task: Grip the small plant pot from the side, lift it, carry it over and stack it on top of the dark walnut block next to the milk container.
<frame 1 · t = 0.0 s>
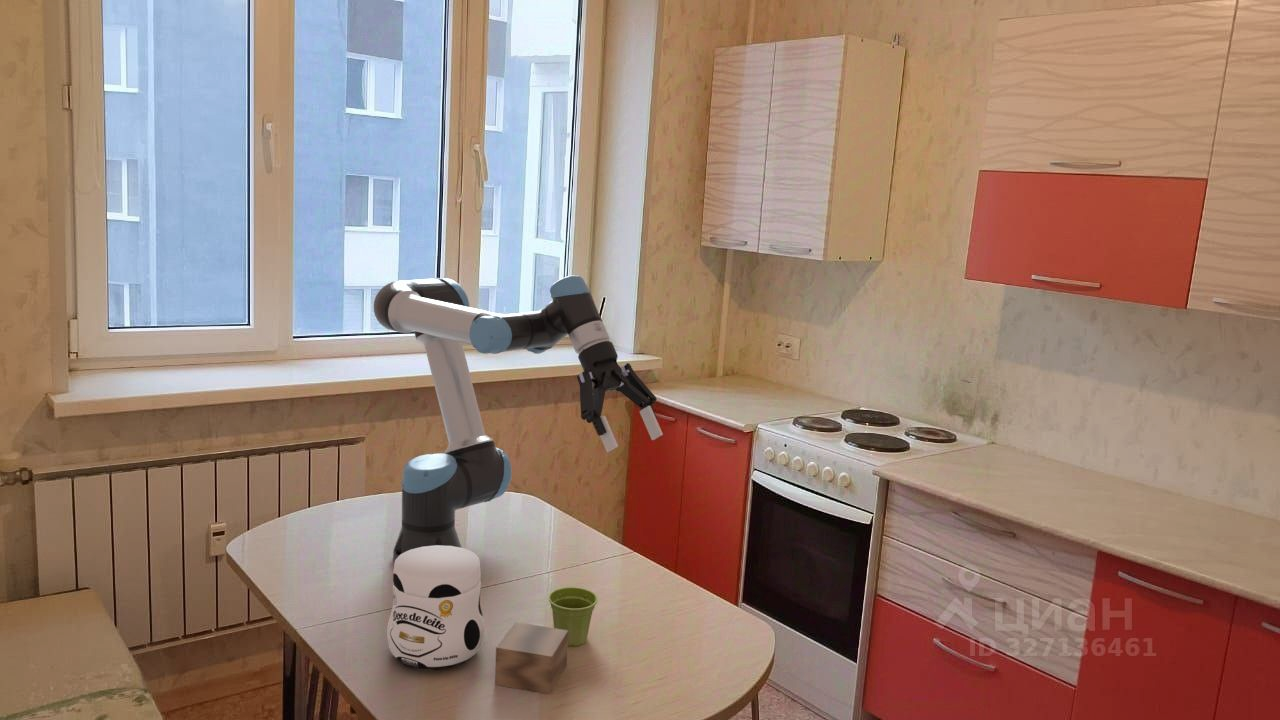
hand: (635, 443, 192), 36 cm above the table, tool tilted 35°, fingers open, 13 cm apart
walnut block: (531, 675, 172), on the table
milk container: (435, 654, 177), on the table
plant pot: (571, 640, 186), on the table
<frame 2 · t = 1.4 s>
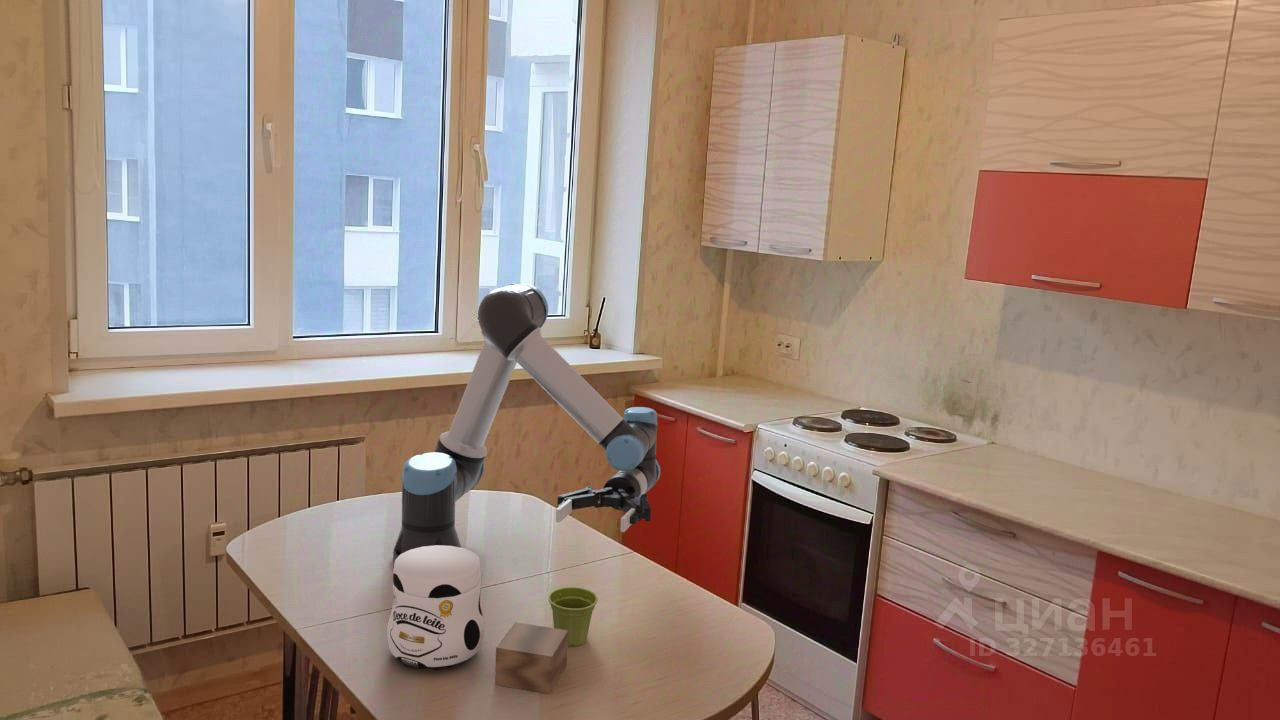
hand: (589, 520, 190), 21 cm above the table, tool horizontal, fingers open, 13 cm apart
nothing on the table moved.
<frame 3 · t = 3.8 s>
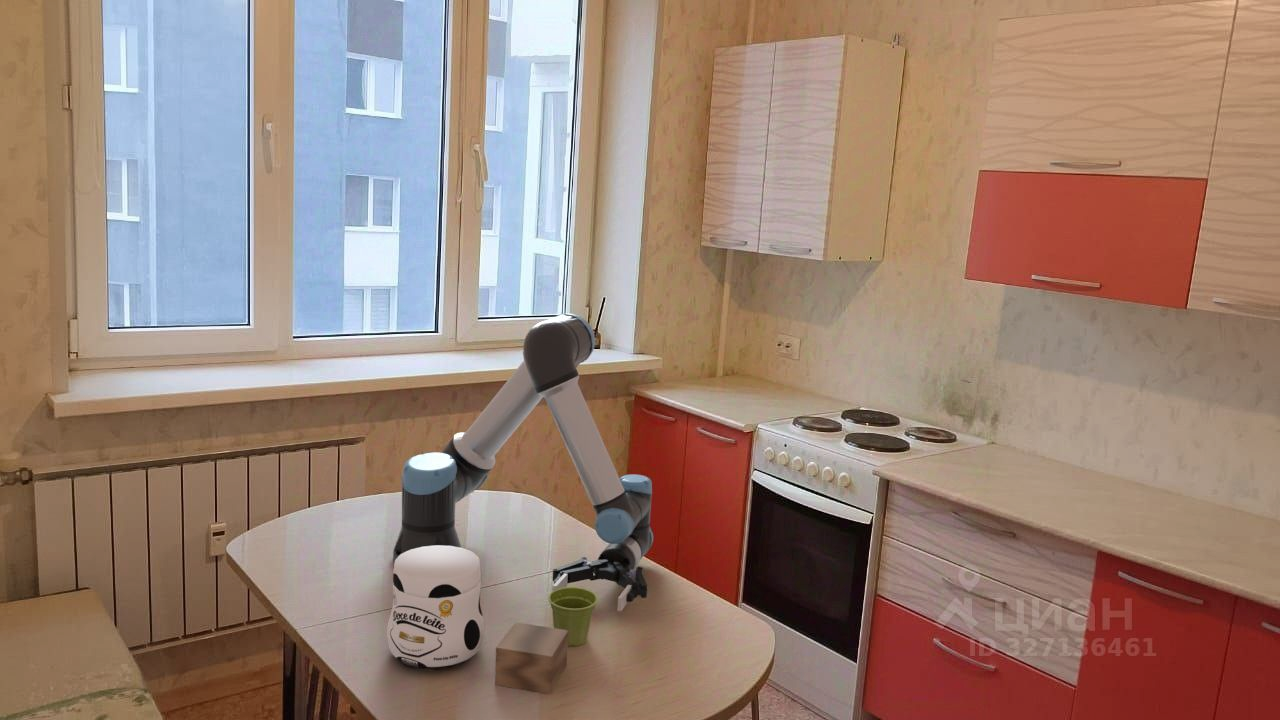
hand: (586, 598, 190), 6 cm above the table, tool horizontal, fingers open, 13 cm apart
nothing on the table moved.
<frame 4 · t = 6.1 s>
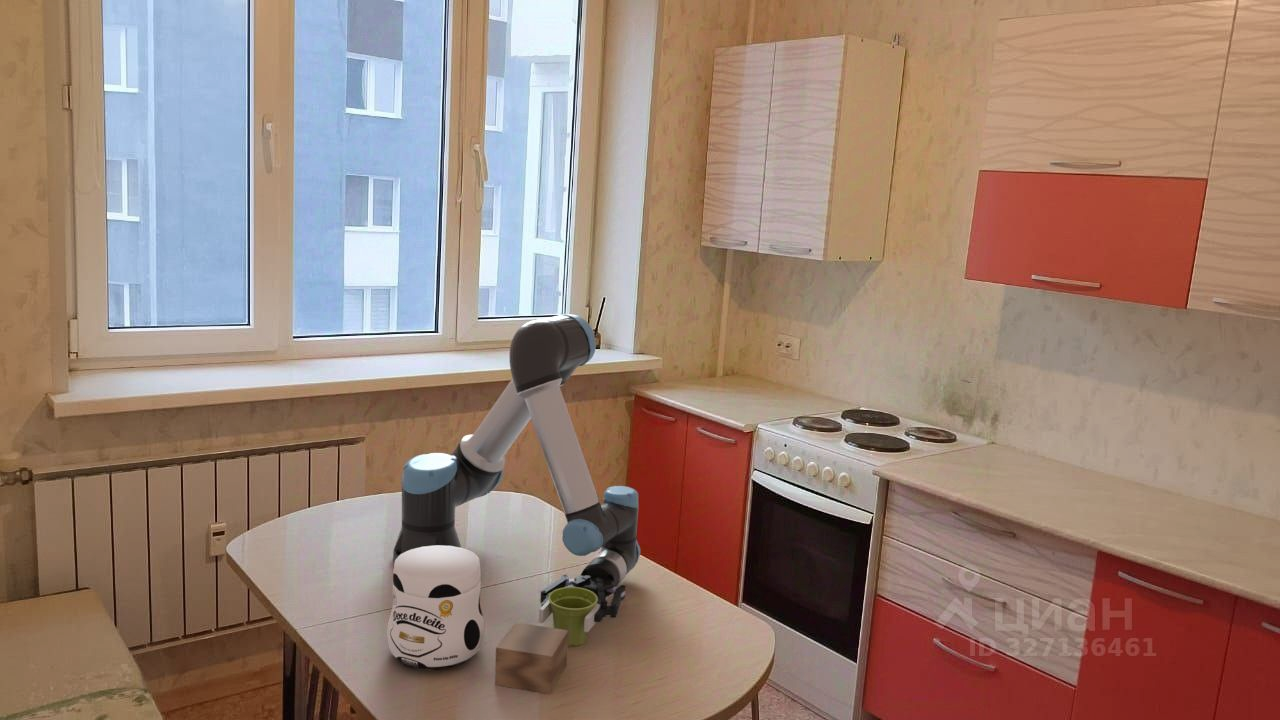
hand: (563, 620, 180), 6 cm above the table, tool horizontal, fingers closed on plant pot, 8 cm apart
plant pot: (571, 640, 186), on the table, touching gripper
everything else where it was.
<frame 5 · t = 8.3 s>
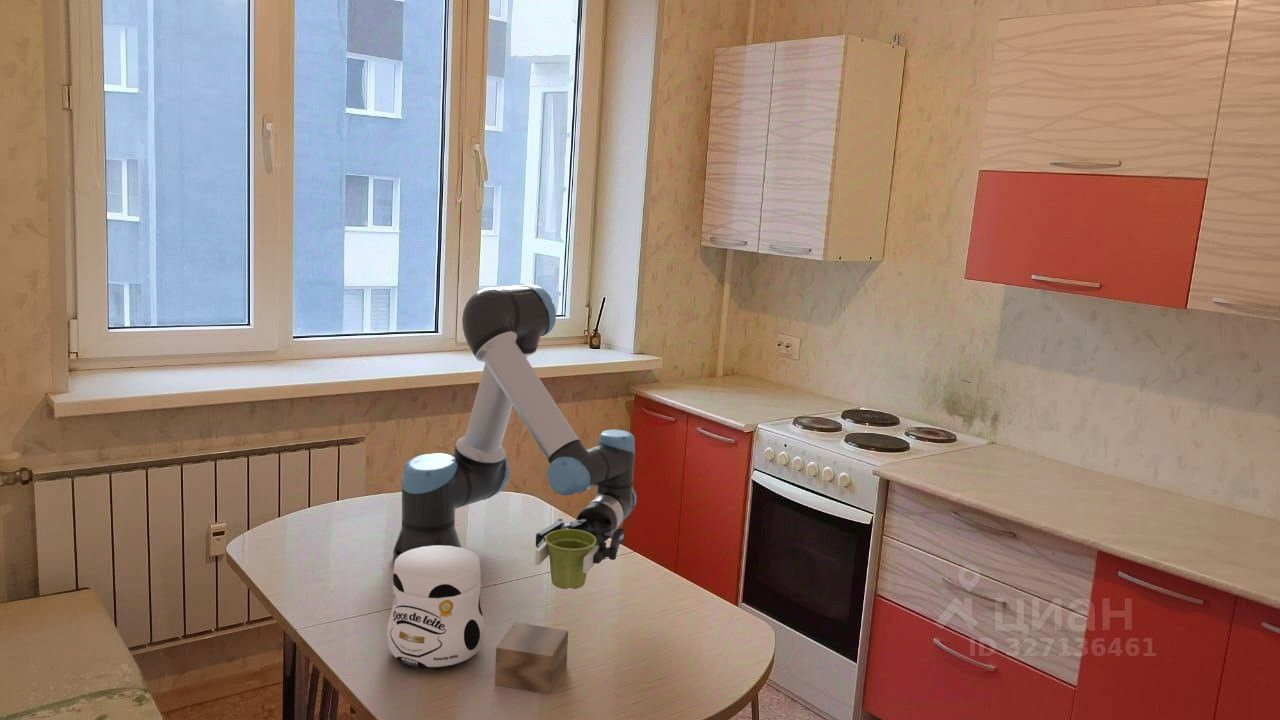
hand: (561, 561, 172), 20 cm above the table, tool horizontal, fingers closed on plant pot, 8 cm apart
plant pot: (568, 584, 178), point 14 cm above the table, touching gripper
everything else where it was.
when the fingers open (14 cm above the table, at t = 10.6 s): plant pot drops 1 cm, resting on walnut block.
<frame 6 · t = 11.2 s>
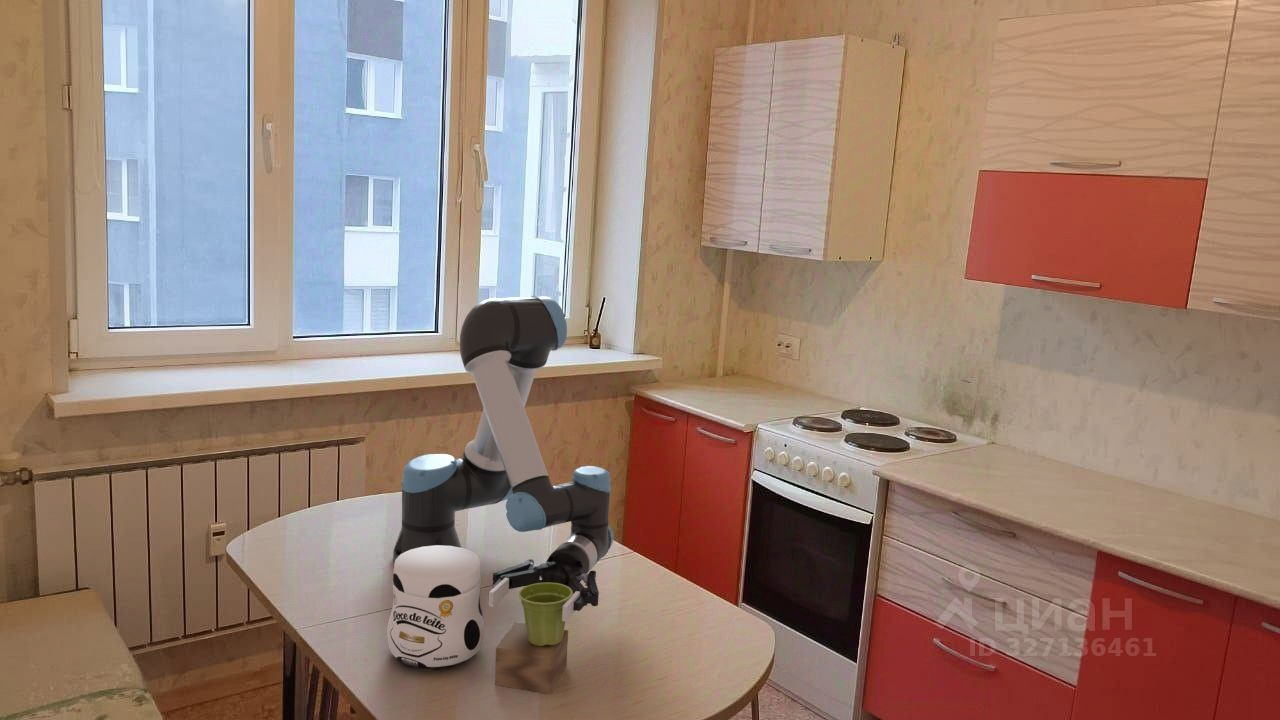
hand: (527, 606, 166), 15 cm above the table, tool horizontal, fingers open, 13 cm apart
plant pot: (545, 640, 170), point 7 cm above the table, touching gripper, walnut block
everything else where it was.
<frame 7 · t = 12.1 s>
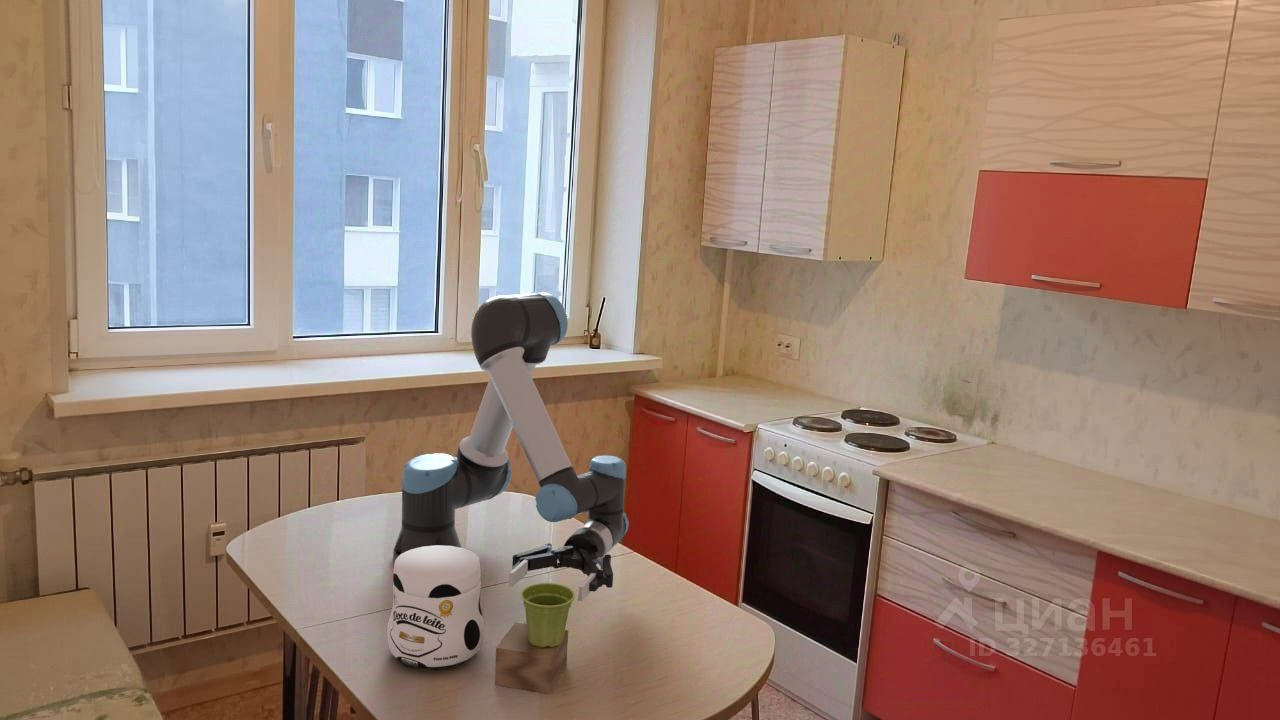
hand: (544, 586, 174), 14 cm above the table, tool horizontal, fingers open, 13 cm apart
plant pot: (546, 641, 170), point 7 cm above the table, touching walnut block
everything else where it was.
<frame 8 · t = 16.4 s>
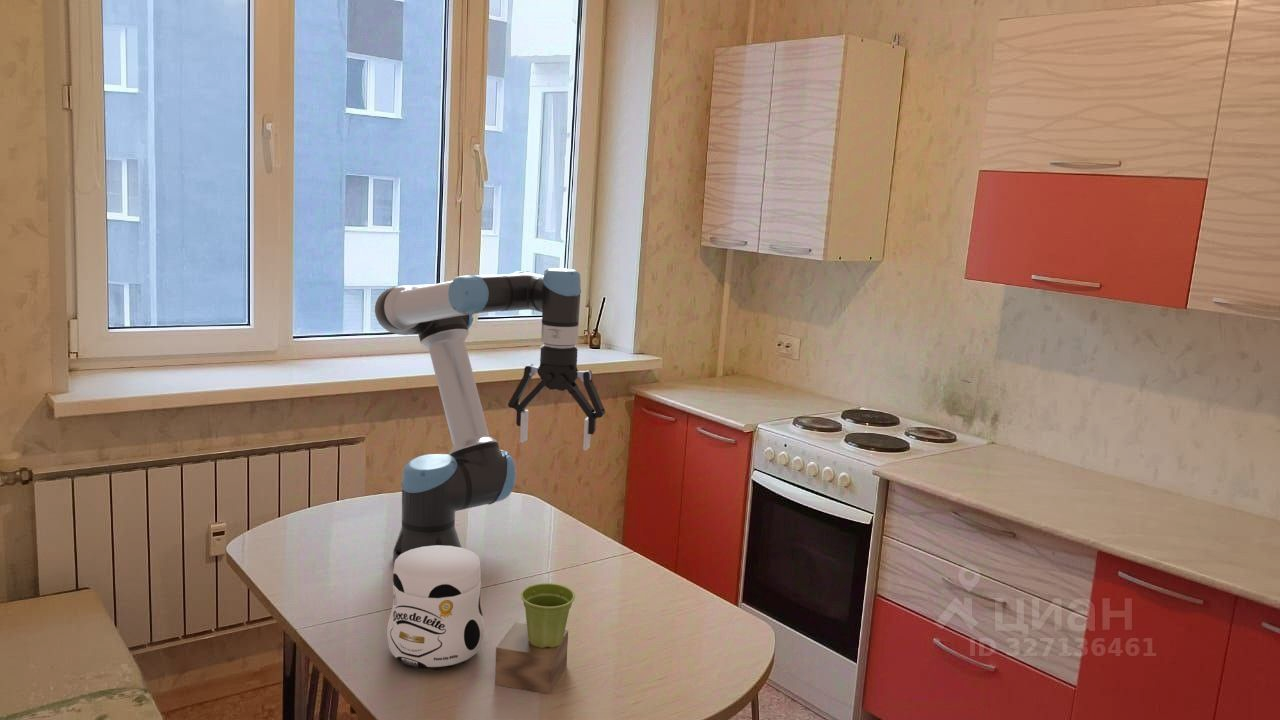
hand: (554, 445, 202), 32 cm above the table, tool pointing down, fingers open, 13 cm apart
nothing on the table moved.
at the end: plant pot inside the target area on the walnut block (2.4 cm from its centre), point 6.8 cm above the walnut block's base; plant pot tilted 0°; the gripper is holding nothing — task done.
